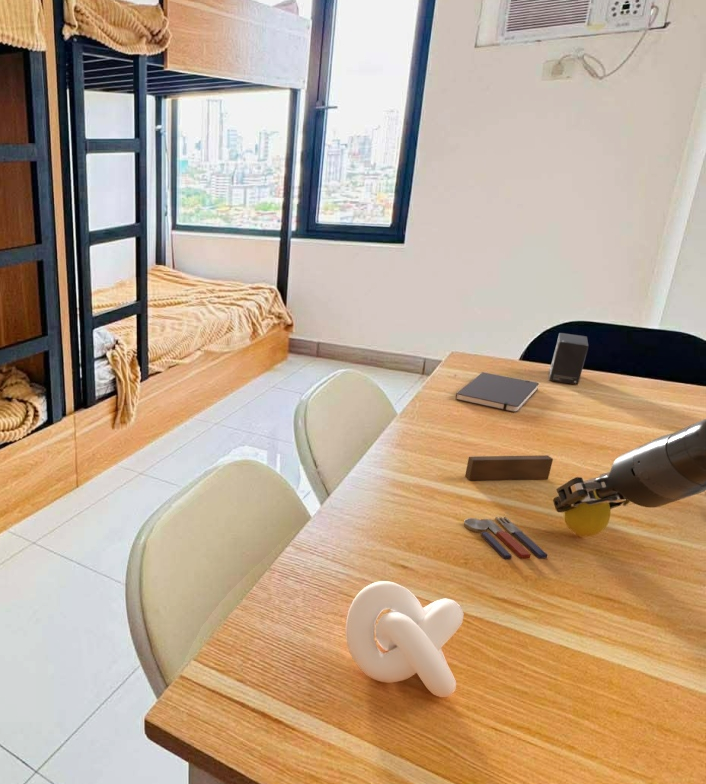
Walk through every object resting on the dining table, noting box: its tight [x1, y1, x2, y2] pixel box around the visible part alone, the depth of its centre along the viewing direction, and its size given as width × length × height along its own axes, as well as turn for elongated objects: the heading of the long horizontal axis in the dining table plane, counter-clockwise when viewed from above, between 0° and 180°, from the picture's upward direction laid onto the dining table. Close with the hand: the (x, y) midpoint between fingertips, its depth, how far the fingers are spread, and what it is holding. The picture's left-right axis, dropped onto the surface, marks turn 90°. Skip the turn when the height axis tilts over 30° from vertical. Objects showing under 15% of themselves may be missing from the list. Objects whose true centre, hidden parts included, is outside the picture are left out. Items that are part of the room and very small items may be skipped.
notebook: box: [455, 371, 540, 413], centre depth 150 cm, size 13×2×21 cm
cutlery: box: [463, 516, 549, 560], centre depth 93 cm, size 10×8×1 cm
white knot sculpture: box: [345, 580, 465, 699], centre depth 67 cm, size 11×12×9 cm
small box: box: [548, 332, 589, 385], centre depth 159 cm, size 11×6×10 cm, turn 147°
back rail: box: [464, 454, 554, 481], centre depth 110 cm, size 14×2×4 cm, turn 91°
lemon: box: [562, 490, 611, 538], centre depth 92 cm, size 6×6×8 cm
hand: (577, 505), depth 94 cm, fingers closed on lemon, 5 cm apart
